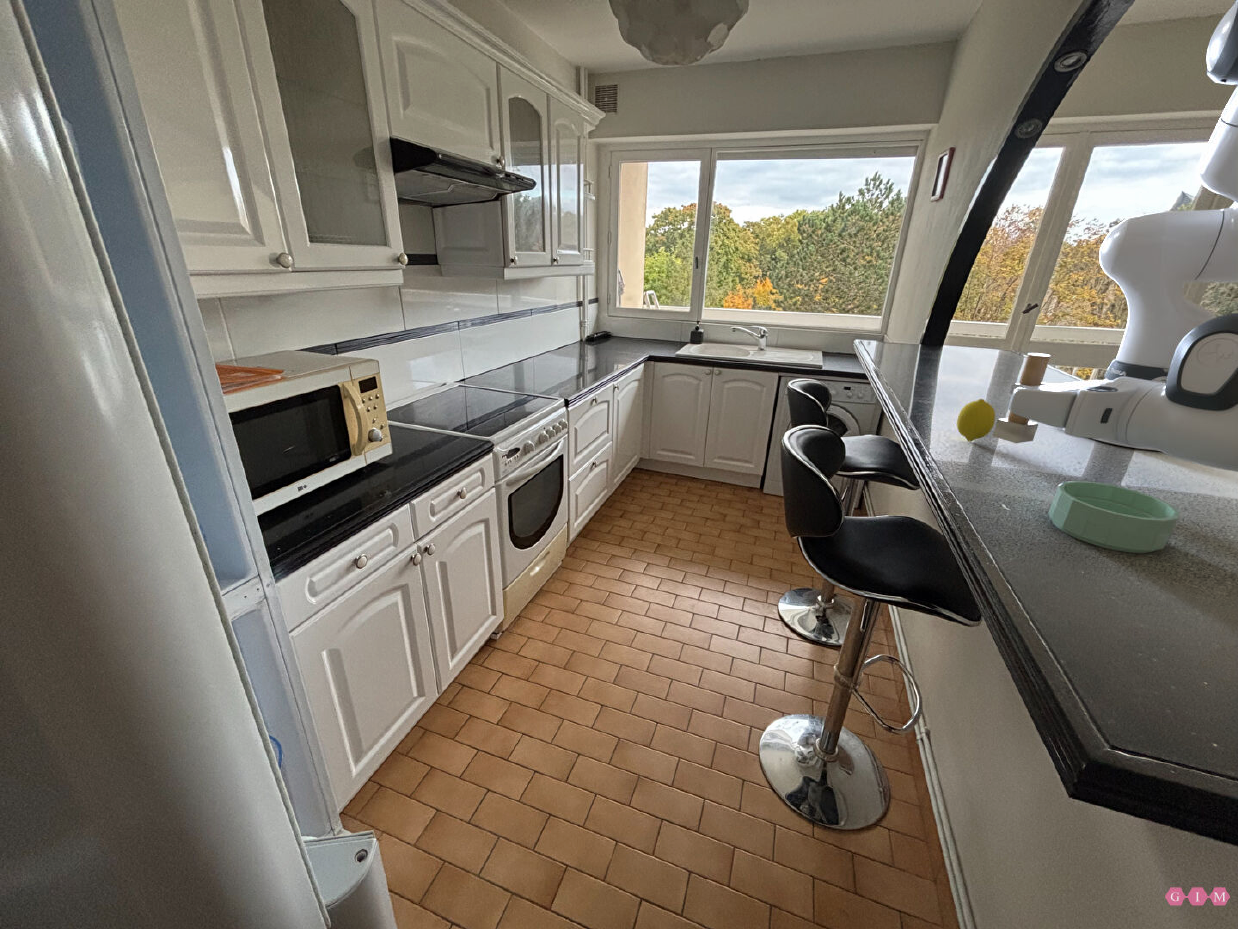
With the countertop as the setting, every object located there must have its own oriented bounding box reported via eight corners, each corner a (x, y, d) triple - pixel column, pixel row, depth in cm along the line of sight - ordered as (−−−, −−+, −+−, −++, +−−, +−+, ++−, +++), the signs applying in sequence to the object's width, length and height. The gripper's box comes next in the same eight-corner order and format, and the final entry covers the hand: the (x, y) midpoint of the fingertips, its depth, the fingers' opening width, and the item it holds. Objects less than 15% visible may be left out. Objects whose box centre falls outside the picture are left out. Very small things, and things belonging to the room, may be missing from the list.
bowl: (1040, 505, 68) (1051, 474, 67) (1145, 525, 64) (1160, 492, 62) (1056, 539, 60) (1069, 505, 58) (1178, 565, 55) (1197, 529, 53)
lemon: (993, 447, 90) (1006, 404, 87) (959, 445, 91) (971, 401, 88) (979, 437, 95) (991, 396, 92) (947, 435, 96) (958, 394, 93)
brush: (1008, 433, 87) (1034, 351, 82) (1032, 441, 84) (1061, 356, 78) (992, 435, 86) (1017, 353, 81) (1016, 443, 83) (1044, 357, 77)
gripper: (1179, 382, 72) (1072, 364, 84) (1084, 393, 66) (983, 371, 78) (1160, 424, 75) (1059, 401, 87) (1067, 438, 69) (972, 411, 81)
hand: (1022, 387), depth 82 cm, fingers closed on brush, 3 cm apart
